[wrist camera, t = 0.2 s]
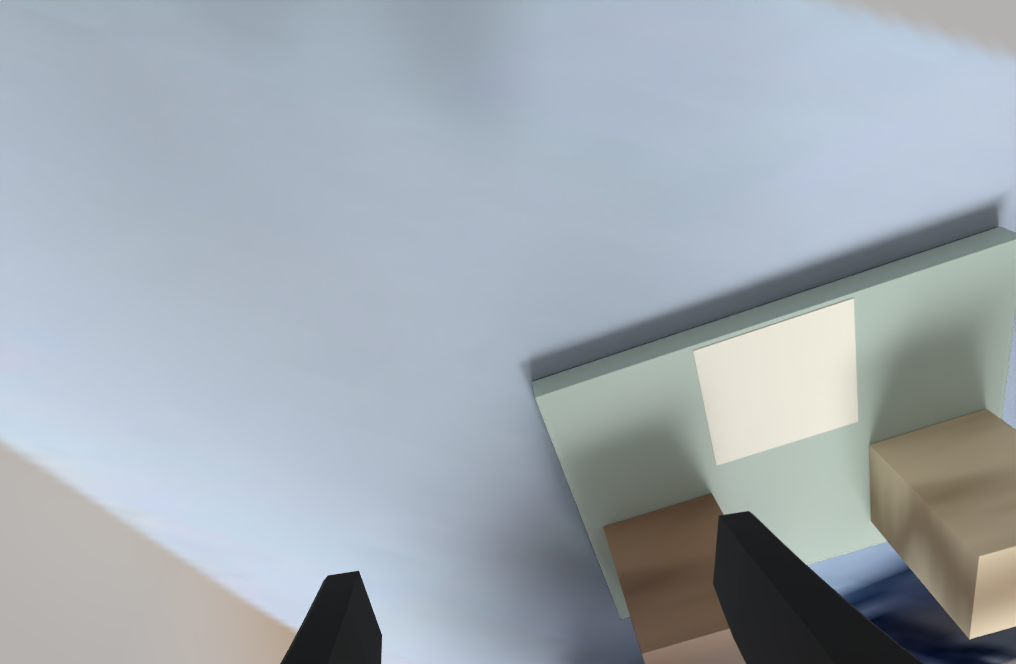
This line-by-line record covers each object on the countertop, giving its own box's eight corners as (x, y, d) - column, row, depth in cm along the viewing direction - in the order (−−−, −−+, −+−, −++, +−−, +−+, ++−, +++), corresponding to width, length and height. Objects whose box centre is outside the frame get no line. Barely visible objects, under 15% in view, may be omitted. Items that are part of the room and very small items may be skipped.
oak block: (977, 489, 25) (1103, 601, 20) (871, 521, 25) (969, 639, 20) (986, 408, 22) (1130, 513, 18) (869, 444, 23) (979, 556, 18)
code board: (972, 494, 26) (991, 511, 25) (615, 600, 28) (620, 620, 27) (999, 226, 20) (1026, 236, 19) (531, 381, 21) (535, 398, 20)
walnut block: (727, 564, 25) (790, 688, 21) (627, 594, 26) (667, 723, 21) (712, 493, 23) (778, 614, 19) (603, 526, 24) (641, 653, 19)
